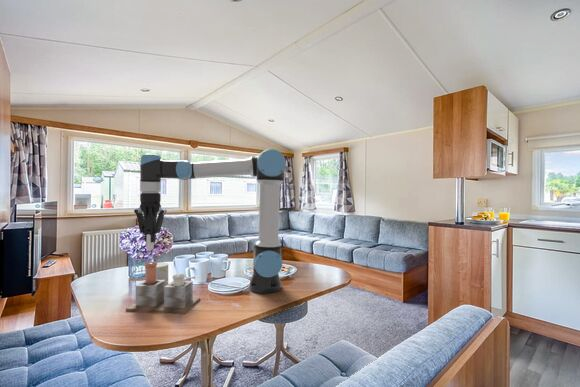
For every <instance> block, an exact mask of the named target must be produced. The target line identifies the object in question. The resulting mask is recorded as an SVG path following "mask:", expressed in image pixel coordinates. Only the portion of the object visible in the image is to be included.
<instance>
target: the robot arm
mask: <svg viewBox="0 0 580 387" xmlns="http://www.w3.org/2000/svg"><path fill="white" fill-rule="evenodd" d="M286 164H287V162H286V158H285V156H284V154H283V153H282V152H281V151H279V150H278V149H274V148H268V149H265V150H263V151H262V152H260V153H259V155H254V156H253V155H252V156H250V157H249V158H243V159H241V158H240V159H228V160H227V159H226V160H211V161H209V160H208V161H196V162H191V161H189V160H183V159H180V160H178V159H177V160H176V159H175V160H173V159H172V160H171V159H170V160H169V159H167V160H166V159H162V157H161V155H159V154H152V153H144V154H142V155H141V156H140V164H139V168H140V171H139V172H140V174H139V175H140V184H139V185H140V186H139V190H140V192H141V193H139V195H140V196H139V197H140V198H139V201H140V205H139V207H138V208H135V209H134V210H133V212H134V214H135V215H136V219H137V224H138V229H139V233H142V234H144V242H145V243H146V251H147V252H148V251H149V252H151V251H153V250H154V249H155V242H156V241H157V240H156V239H157V237H156V235H157V234H158V233H160V232H161V230H162V226H163V222H164V218H165V215H166V213H167V209H164V208H163V207H162V205H161V199H162V197H161V195H162V194H161V185H162V184H161V182H162V180H161V179H177V180H180V181H181V180H182V181H185V180H194V179H195V180H196V179H205V178H206V179H210V178H220V177H221V178H222V177H224V178H225V177H236V176H237V177H238V176H251V177H253V178H255V177H256V181H257V183H258V184H259V207H258V208H259V209H258V210H259V213H258V216H259V217H258V239H257V240H255V241H254V242H253V246H252V248H253V256H252V258H253V266H252V267H253V273H252V275H251V279H250V280H249V281H250V282H249V289H250V291H252V292H253V293H256V294H257V293H258V294H272V293H273V294H274V293H276V292H278V291H280V290H281V289H282V282H281V278H280V276H279V273H280V272H281V270H282V267H283V258H282V245H283V244H282V243H281V242H280V241H279V231H280V230H279V228H280V226H279V225H280V198H281V196H280V195H281V194H280V193H281V184H283V183H284V181H285V180H284V179H285V169H286V166H287V165H286Z"/></svg>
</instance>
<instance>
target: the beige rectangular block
mask: <svg viewBox="0 0 580 387" xmlns="http://www.w3.org/2000/svg"><path fill="white" fill-rule="evenodd" d="M156 280H165V286H166V285H168V284H169V262H157V265H156Z"/></svg>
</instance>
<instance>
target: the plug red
mask: <svg viewBox="0 0 580 387" xmlns="http://www.w3.org/2000/svg"><path fill="white" fill-rule="evenodd" d="M157 263H158V262H156V261H150V262H145V263H144V267H145V268H144V269H145V271H144V272H145V281H146V285H154V284H156V265H157Z"/></svg>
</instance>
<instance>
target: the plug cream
mask: <svg viewBox="0 0 580 387" xmlns="http://www.w3.org/2000/svg"><path fill="white" fill-rule="evenodd" d="M185 277H186V274H185V273H177V274H173V275H172V279H173V281H172V282H173V286H183V285H184V281H185Z"/></svg>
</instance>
